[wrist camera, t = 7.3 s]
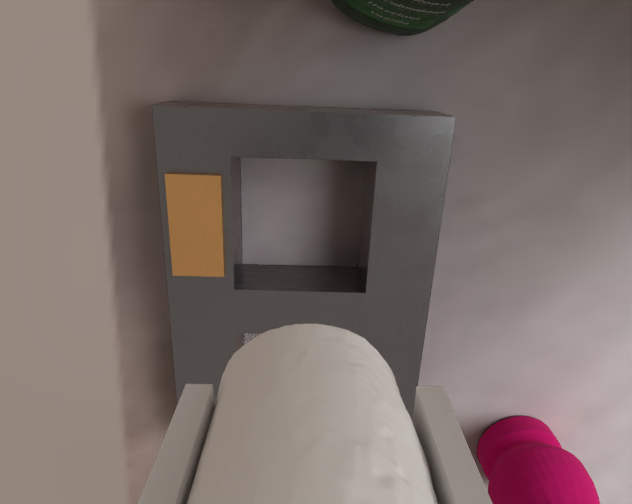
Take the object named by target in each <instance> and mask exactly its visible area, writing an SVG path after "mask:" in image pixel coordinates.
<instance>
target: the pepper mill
mask: <svg viewBox="0 0 632 504" xmlns="http://www.w3.org/2000/svg"><path fill="white" fill-rule="evenodd" d="M477 455H478V459H479V462H480V464H481V466H482V468H483V471H484V473H485V475H486V477H487V478H488V479H489V485H488V494H489V496H490V499H491V501H492V503H493V504H600V502H599V497H598V494H597V491H596V488H595V486H594V483H593V481H592V479H591V478H590V476H589V474H588V472H587V471H586V469H585V467H584V466H583V464H582V463H581V462H580V461H579V460H578V459H577V458H576V457H575V456H574V455H573V454H571V453H570V452H568V451H566V450H564V449H562V448H561V445H560V443H559V442H558V440H557V439H556V437H555V436H554V434H553V433H552V432H551V430H550V429H549V427H548V426H547V425H546V424H544V423H543V422H542V421H540V420H538V419H535V418H532V417H527V416H515V417H510V418H506V419H503V420H500V421H498V422H497V423H495V424H493V425H492V426H490V427H489V428H488V429H487V430H486V431H485V432H484V433H483V435H482V437H481V438H480V440H479V443H478V446H477Z"/></svg>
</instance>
